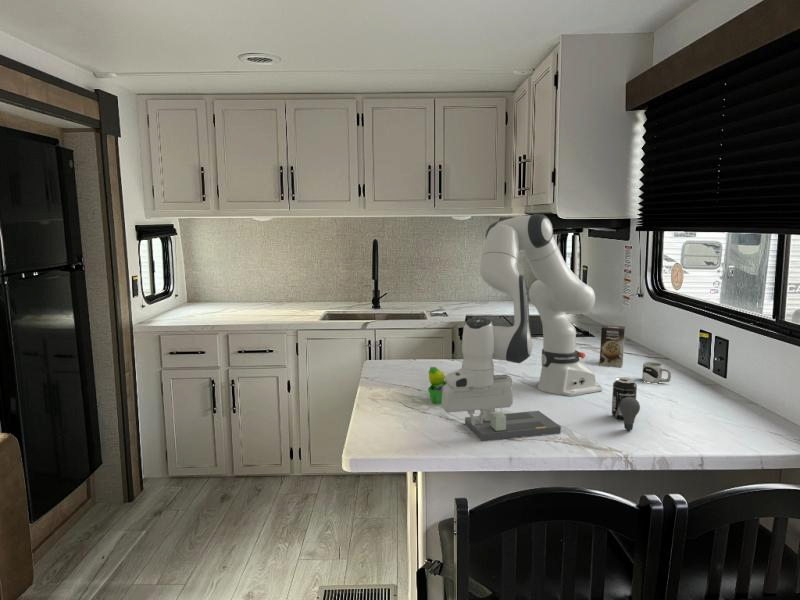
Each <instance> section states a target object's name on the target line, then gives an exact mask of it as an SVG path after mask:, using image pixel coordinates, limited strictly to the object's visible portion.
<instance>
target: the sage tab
mask: <svg viewBox="0 0 800 600" xmlns="http://www.w3.org/2000/svg"><path fill="white" fill-rule="evenodd" d="M504 414H505V413H503V412H502V411H495V412H491V427H492V428H493V429H494V430H496V431H500V430H506V416H505V415H504Z"/></svg>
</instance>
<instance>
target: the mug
mask: <svg viewBox="0 0 800 600" xmlns="http://www.w3.org/2000/svg"><path fill="white" fill-rule="evenodd" d="M671 371H672V370H671V369H670V368H666V367H664V366H663V364H662V363H660V362H655V361H645V362H643V363H642V378H641V379H642V380H643V381H645V382H650V383H659V382H661V383H669V382H671V380H672V372H671ZM663 372H667V374H668V375H667V378H663ZM643 381H642V382H643ZM645 382H644V383H645Z"/></svg>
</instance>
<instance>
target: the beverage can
mask: <svg viewBox="0 0 800 600" xmlns="http://www.w3.org/2000/svg"><path fill="white" fill-rule="evenodd" d="M635 381H636V380H635V379H634V378H630V377H623V376H622V377H619V376H618V377H616V378H615V380H614V382H613V383H612V396H611V397H612V398H611V414H612V416H613V417H614V418H616V419H618V420H622V421H624V419H623V415H622V413H621V410H620V407H619V405H620V402H621V400H622V399H623V398H626V397H633V398H635V399H636V400H637V389H638V385H637V384H636V382H635Z"/></svg>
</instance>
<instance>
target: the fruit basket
mask: <svg viewBox="0 0 800 600" xmlns="http://www.w3.org/2000/svg"><path fill="white" fill-rule="evenodd" d="M445 376H446V374H445V373H444V372H443V371H441V370H440V369H439V368H438V367H436V366H430V367H429V371H428V380H429V383H430V386H429V387H428V388H427V391H428V393H429V397H430V400H431V404H439V403H441V402H442V392H443V388H444V386H445V385H446V384H447V382H446V381H445Z"/></svg>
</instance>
